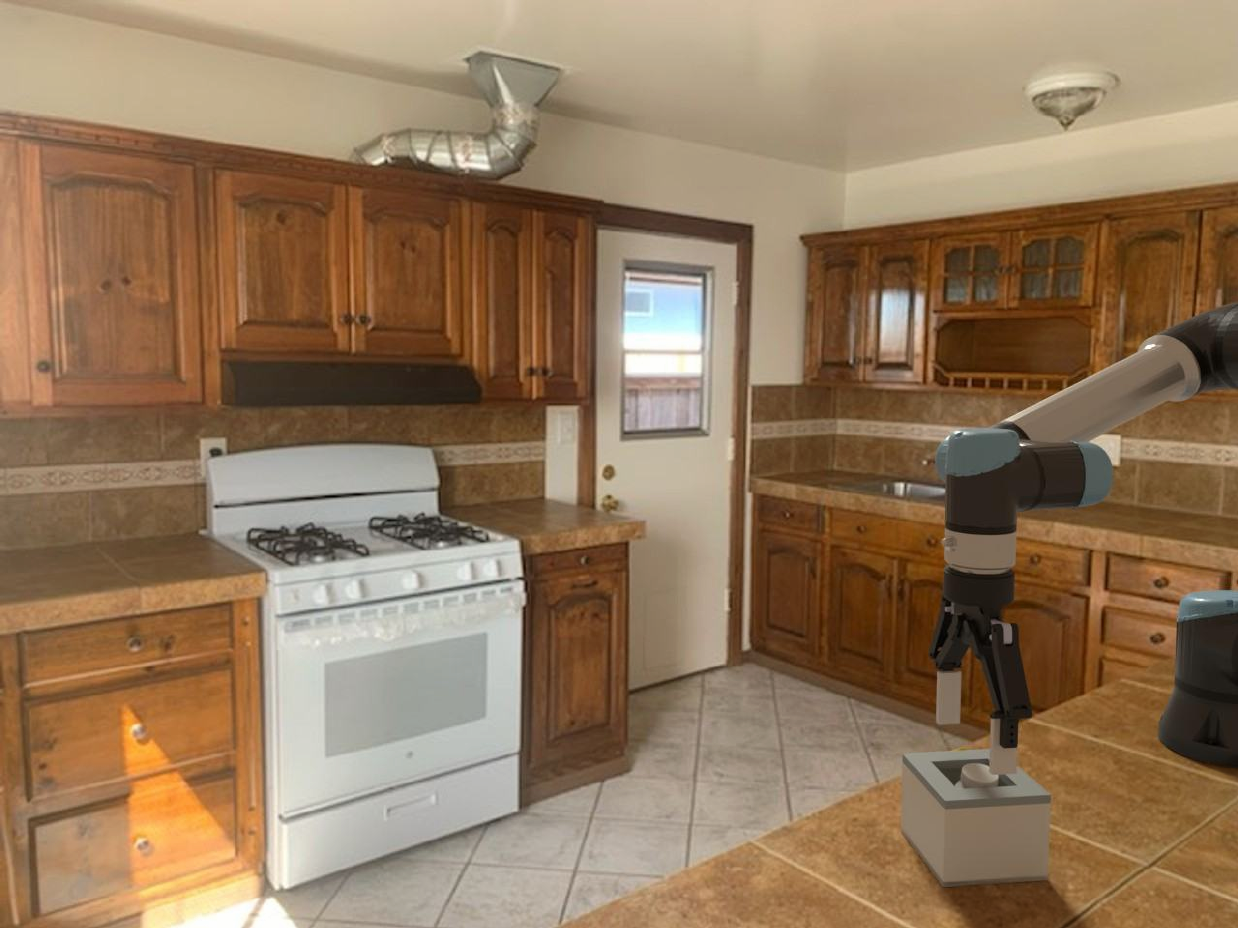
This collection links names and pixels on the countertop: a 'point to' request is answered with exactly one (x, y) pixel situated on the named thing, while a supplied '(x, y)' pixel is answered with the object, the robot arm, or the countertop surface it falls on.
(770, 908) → the countertop surface
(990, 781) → the pill bottle
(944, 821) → the drop box
